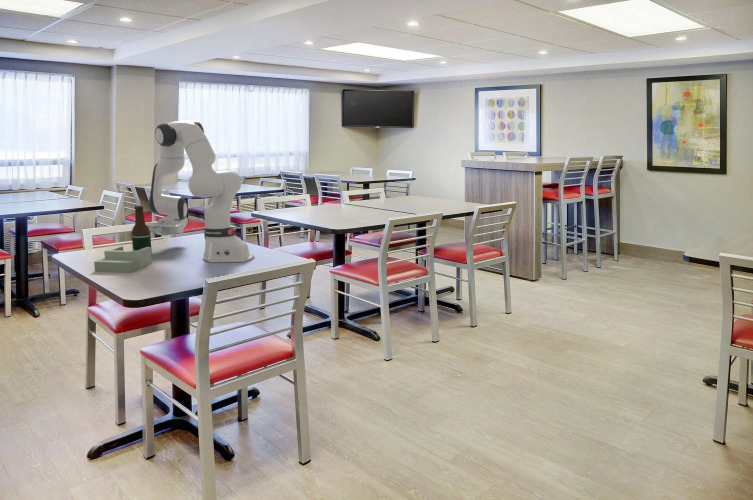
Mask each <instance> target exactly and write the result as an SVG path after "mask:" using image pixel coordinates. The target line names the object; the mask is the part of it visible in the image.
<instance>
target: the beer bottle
mask: <svg viewBox="0 0 753 500" xmlns="http://www.w3.org/2000/svg"><path fill="white" fill-rule="evenodd" d="M134 209H135V210H134V211H135V213H134V214H135V216H134V218H135V222H134V226H133V227H132V229H131V243H132V251H137V250H140V249H143V248H145V247H151V254H152V255H153V250H152V238H151V233H150V230H149V228H148V227H147V225H146V224H145V223H146V222H145V215H144V206H143V205H135V206H134Z"/></svg>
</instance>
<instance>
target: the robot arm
mask: <svg viewBox="0 0 753 500" xmlns="http://www.w3.org/2000/svg"><path fill="white" fill-rule="evenodd" d="M154 135H155V139H156V141H157V143H158V144H159V160H158V161H159V162H157V163H155V165H154V167H153V171H152V177H151V185H150V187H151V188H150V195H149V199H148V203H147V206H148V209H149V210H150V211H151V212H152V214H155V215H166V216H163V217H160V218H159V219H158V220H157V221H156V222H145V224H146V225H147V227H148V228H149V230H150V234H151V233H152V234H153V233H154V234H160V235H162V236H169V235H177V234H178V235H180V234H184V228H186V226H187V224H188V217H187V216H188V213H189V206H188V203H187V200H186V199H185V198H184V197H182V196H175V195H169V194H168V195H167V194H164V193H163V192H162V190H163V183H164V182H163V181H164V177H166V176H170V175H173V174H176V173H178V172H180V171H181V170H183V168H184V166H185V160H186V159H185V153H186V155H187V158H188V159H189V162H190V164H191V168H192V175H191V176H190V178H189V179H188V185H187V186H188V189H189V192H190V193H191V195H193V196H194V197H198V198H205V199H206V198H211V201H210V203H209V205H207V206H206V207H205V209H204V213H203V214H204V228H203V231H204V232H203V235H204V244H205V245H204V252H203V256H202V257H203V258H202V259H203V260H204V261H207V262H209V263H244V262H248V261H251V260H253V259H254V258H255V255H254V253H250V250H249V246H248V244H247V243H246V242H245V241H244V240H242V239H241V238H240V237H238V236H237V235H236V230H237V229H236V228H235V227H234V228H233V227H232V226H231V208H232V203H233V201H234V198H235V196H236V195H237V193H238V192H239V191H241V187H242V179H241V176H240V175H239V173H237V172H235V171H230V170H218V171H215V170H214V168H213V166H212V165H213V164H214V163H215V161H216V158H217V155H216V153H215V151H214V150H213V147H212V145H211V143H210V141H209V139H208V138H207V136H206V134H205V131H204V127H203V125H202V123H201V122H199V121H198V120H191V119H190V120H180V121H179V120H176V121H170V122H163V123H160V124H158V125H157V126H156V128H155V130H154Z"/></svg>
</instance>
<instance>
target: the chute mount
mask: <svg viewBox="0 0 753 500" xmlns="http://www.w3.org/2000/svg"><path fill="white" fill-rule="evenodd" d="M151 249H152V246H151V247H145V248H143V249H140V250H137V251H133V250H124V246H122V245H119V246H115V247H113V248H109V249H107V250H105V251H104V252H103V253H104V257H103V258H101V259H97V260H95V261H93V263H94V264H93V266H94V272H105V273H106V272H107V273H108V272H109V273H111V272H112V273H134V272H136V271H138V270H140V269H141V268H144V267H146V266H149V265H151V264H152V263H153V253H152V254H151Z"/></svg>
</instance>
